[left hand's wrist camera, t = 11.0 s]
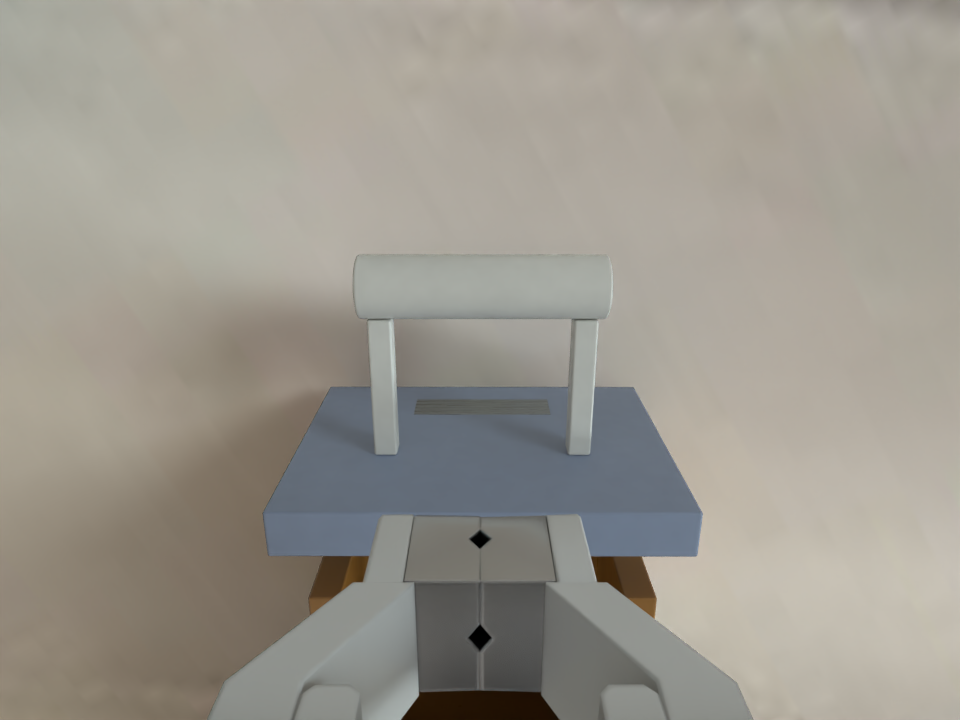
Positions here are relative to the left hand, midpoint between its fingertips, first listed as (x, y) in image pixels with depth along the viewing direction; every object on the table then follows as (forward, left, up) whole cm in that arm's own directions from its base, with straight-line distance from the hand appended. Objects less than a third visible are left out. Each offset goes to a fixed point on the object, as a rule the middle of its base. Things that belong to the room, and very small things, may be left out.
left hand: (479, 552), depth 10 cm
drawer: (+5, +7, -12) cm, 14 cm away
